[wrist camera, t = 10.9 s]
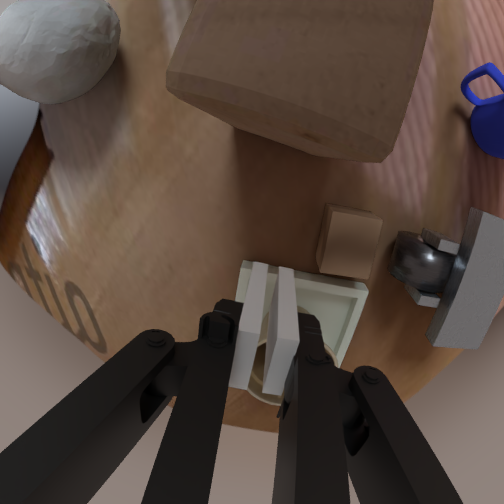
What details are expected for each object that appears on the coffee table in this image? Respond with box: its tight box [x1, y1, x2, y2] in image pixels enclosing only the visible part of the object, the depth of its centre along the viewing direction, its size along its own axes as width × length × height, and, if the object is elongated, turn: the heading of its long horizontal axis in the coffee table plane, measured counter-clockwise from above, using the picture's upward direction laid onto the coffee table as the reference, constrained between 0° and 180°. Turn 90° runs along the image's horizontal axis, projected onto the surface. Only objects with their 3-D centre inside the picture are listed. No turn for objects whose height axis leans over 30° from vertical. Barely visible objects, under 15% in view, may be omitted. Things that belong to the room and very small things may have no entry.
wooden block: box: [166, 0, 433, 163], centre depth 18 cm, size 10×10×20 cm
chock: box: [315, 203, 383, 280], centre depth 30 cm, size 6×5×4 cm
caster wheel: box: [388, 207, 504, 349], centre depth 27 cm, size 14×12×9 cm
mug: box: [461, 63, 504, 159], centre depth 21 cm, size 8×12×10 cm
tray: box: [235, 260, 369, 367], centre depth 35 cm, size 14×14×2 cm
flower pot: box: [247, 306, 339, 406], centre depth 31 cm, size 9×9×9 cm
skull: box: [0, 0, 121, 104], centre depth 21 cm, size 13×18×15 cm
